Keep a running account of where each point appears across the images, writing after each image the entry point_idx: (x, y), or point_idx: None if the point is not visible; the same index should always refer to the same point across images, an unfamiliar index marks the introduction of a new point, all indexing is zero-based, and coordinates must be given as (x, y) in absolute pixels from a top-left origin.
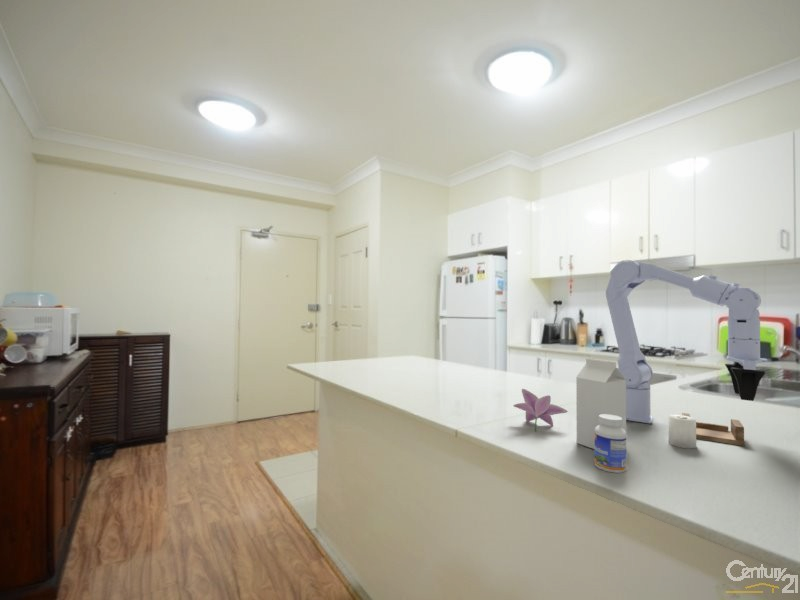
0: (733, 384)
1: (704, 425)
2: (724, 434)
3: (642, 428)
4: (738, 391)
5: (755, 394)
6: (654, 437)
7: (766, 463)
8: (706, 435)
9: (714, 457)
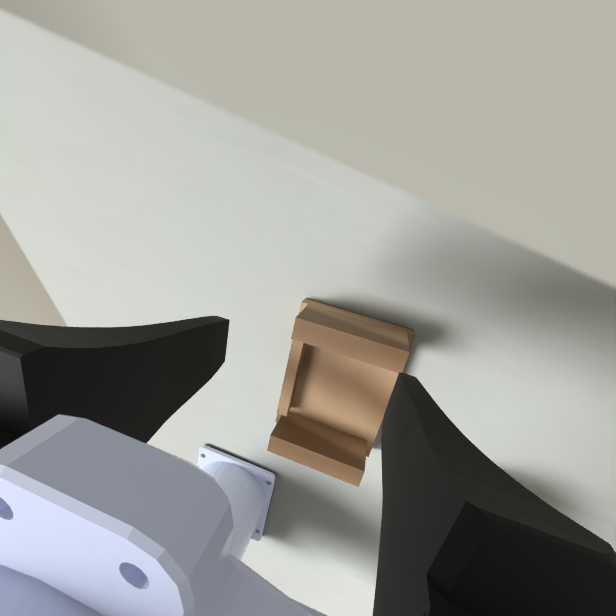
0: (192, 395)
1: (294, 387)
2: (348, 357)
3: (326, 508)
4: (219, 356)
5: (426, 392)
6: None
7: (594, 352)
8: (380, 412)
9: (563, 462)
